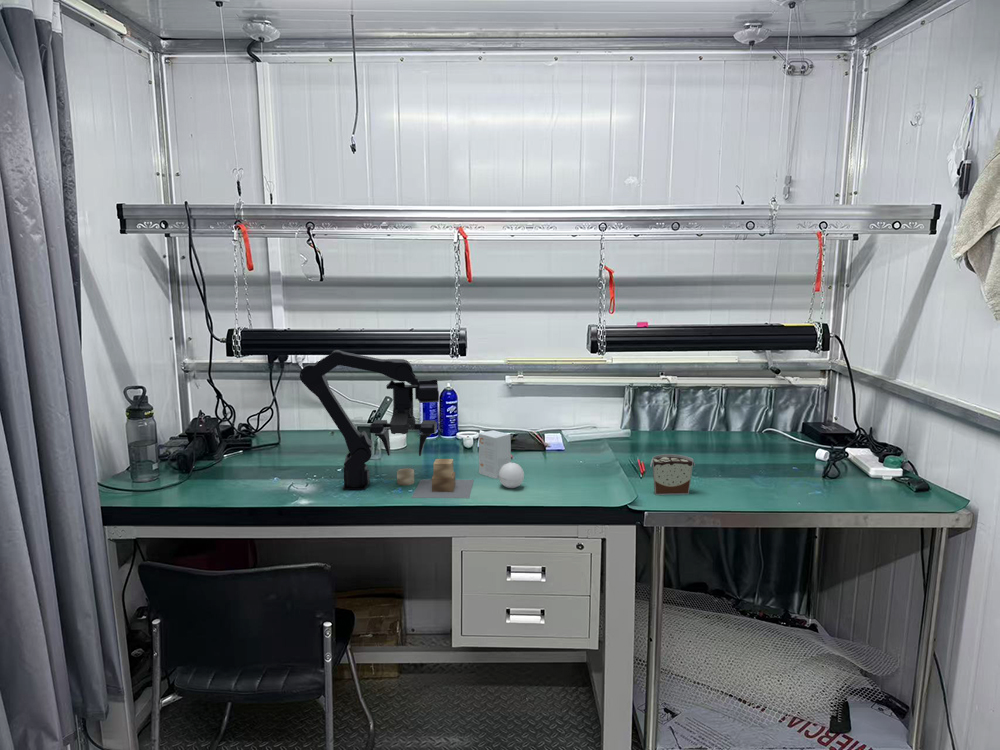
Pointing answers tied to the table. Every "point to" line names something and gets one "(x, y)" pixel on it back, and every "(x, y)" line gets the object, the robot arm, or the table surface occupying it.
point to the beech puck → (405, 476)
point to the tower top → (443, 468)
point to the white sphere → (511, 475)
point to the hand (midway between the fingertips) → (404, 455)
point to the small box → (493, 452)
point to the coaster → (460, 491)
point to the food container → (672, 474)
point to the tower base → (443, 484)
